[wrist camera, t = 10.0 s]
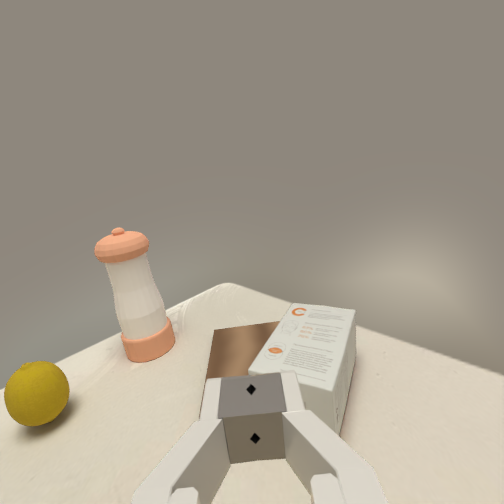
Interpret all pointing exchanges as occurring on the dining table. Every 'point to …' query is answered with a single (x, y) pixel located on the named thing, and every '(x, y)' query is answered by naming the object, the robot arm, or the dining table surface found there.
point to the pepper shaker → (135, 295)
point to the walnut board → (236, 349)
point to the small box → (314, 357)
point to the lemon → (36, 393)
